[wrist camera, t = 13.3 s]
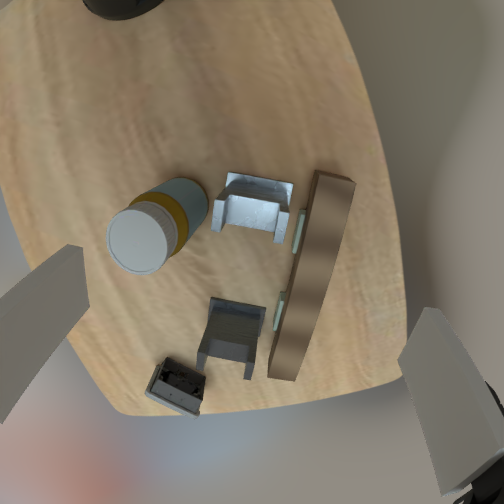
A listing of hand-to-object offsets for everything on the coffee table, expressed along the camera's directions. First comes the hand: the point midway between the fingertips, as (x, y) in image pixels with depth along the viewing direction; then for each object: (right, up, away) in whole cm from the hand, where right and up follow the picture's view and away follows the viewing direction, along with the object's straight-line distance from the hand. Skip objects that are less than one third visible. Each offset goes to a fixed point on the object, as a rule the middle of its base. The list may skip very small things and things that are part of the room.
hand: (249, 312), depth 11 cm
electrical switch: (-12, -18, +40) cm, 46 cm away
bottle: (-9, +9, +29) cm, 31 cm away
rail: (+7, -2, +29) cm, 29 cm away
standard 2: (+1, +9, +28) cm, 29 cm away
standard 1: (-2, -7, +35) cm, 35 cm away
